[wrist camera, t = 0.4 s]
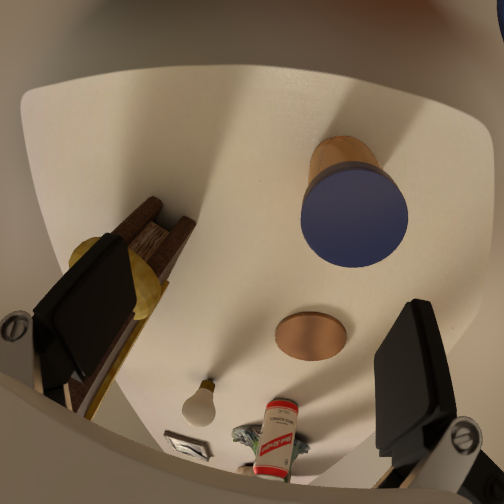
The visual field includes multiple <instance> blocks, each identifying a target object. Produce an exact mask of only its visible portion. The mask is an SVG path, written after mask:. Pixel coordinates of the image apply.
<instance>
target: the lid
mask: <svg viewBox="0 0 504 504" xmlns="http://www.w3.org/2000/svg"><path fill="white" fill-rule="evenodd" d="M407 224H408V210H407V205H406V202H405V199H404V197H403V195H402V193H401V192H400V190H399V188H398V187H397V185H396V184H395V182H394V181H393V179H392V178H391V177H390V176H389V175H388V174H387V173H386V172H384V171H383V170H382V169H380V168H378V167H377V166H374V165H372V164H369V163H366V162H360V161H347V162H341V163H337V164H334V165H332V166H330V167H328V168H326V169H324V170H323V171H321V172H320V173H319V174H318V175H317V176H316V177H315V178H314V179H313V180H312V181H311V183H310V184H309V186H308V188H307V189H306V192H305V194H304V198H303V202H302V210H301V228H302V233H303V235H304V238H305V240H306V242H307V244H308V245H309V246H310V248H311V249H312V250H313V251H314V252H315V253H316V254H317V255H318V256H319V257H321V258H322V259H324V260H325V261H327V262H329V263H332V264H334V265H338V266H342V267H349V268H357V267H364V266H369V265H372V264H375V263H377V262H379V261H381V260H383V259H384V258H386V257H387V256H389V255H390V254H391V253H392V252H393V251H394V250H395V249H396V248H397V247H398V245H399V244H400V243H401V241H402V239H403V237H404V235H405V233H406V229H407Z"/></svg>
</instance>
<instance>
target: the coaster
mask: <svg viewBox="0 0 504 504" xmlns="http://www.w3.org/2000/svg"><path fill="white" fill-rule="evenodd" d="M346 340H347V336H346V330H345V328H344V327H343V325H342V324H341V323H340V322H339V321H338V320H336V319H335V318H333V317H331V316H329V315H326V314H322V313H316V312H303V313H298V314H294V315H291V316H289V317H287V318H286V319H284V320H283V321H282V322H281V323H280V324H279V325H278V327H277V328H276V332H275V341H276V344H277V346H278V347H279V348H280V349H281V350H282V351H283V352H284V353H285V354H287V355H289V356H291V357H293V358H296V359H299V360H305V361H319V360H324V359H328V358H331V357H333V356H335V355H336V354H338V353H339V352H340V351H341V350H342V349H343V348H344V346H345V344H346Z"/></svg>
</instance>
